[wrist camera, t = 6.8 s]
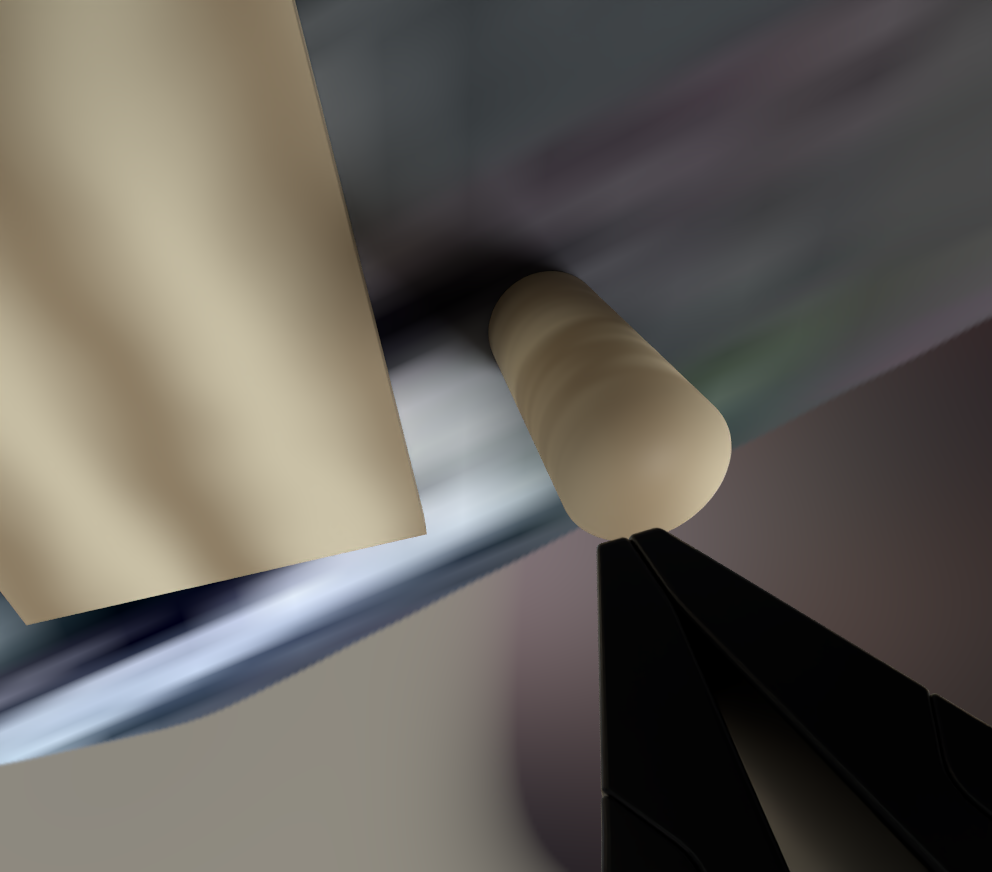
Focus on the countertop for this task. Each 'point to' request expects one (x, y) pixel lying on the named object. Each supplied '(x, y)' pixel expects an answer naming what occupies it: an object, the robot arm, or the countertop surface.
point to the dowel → (606, 410)
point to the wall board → (179, 310)
